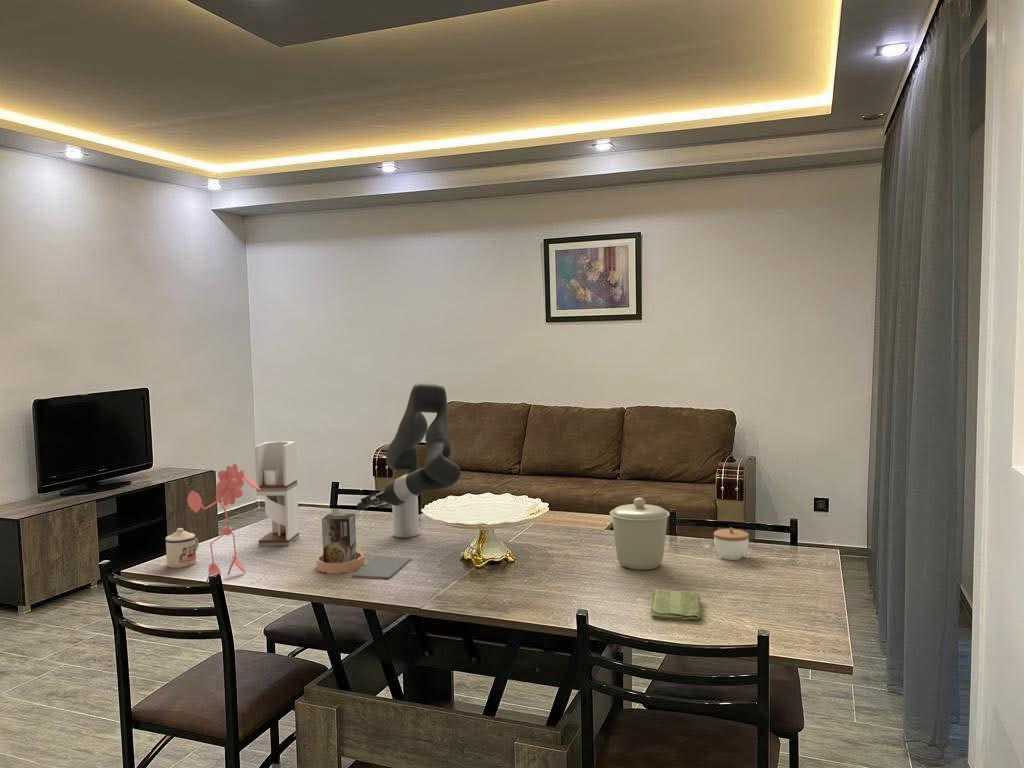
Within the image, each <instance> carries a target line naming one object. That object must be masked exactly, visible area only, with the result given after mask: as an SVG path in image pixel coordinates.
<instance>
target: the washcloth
mask: <svg viewBox="0 0 1024 768" xmlns="http://www.w3.org/2000/svg"><path fill="white" fill-rule="evenodd" d="M651 601H652V603H651V605H652V606H651V608H650V611H651V612H650V617H651V618H652V619H654V620H655V619H656V620H659V619H660V620H661V619H662V620H688V621H690V620H692V621H703V620H704V614H703V610H702V605H701V597H700V594H699V592H697V591H688V590H687V591H683V590H679V591H677V590H670V589H661V588H655V589H654V590H653V593H652V594H651Z"/></svg>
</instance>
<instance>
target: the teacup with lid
mask: <svg viewBox="0 0 1024 768" xmlns="http://www.w3.org/2000/svg"><path fill="white" fill-rule="evenodd" d="M164 542H165V550H166V551H165V553H166V566H167V567H168V568H171V569H180V568H188V567H191V566H193V565H194V564H196V562H197V555H196V553H197V550H198V549H199V539H198V538H197V537H196V535H195V533H193V532H188V531H186V530H184V528H183V527H179V528H176V531H175V532H173V533H172V534H170V535H167V536H165V539H164ZM187 566H188V567H187Z"/></svg>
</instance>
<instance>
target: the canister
mask: <svg viewBox="0 0 1024 768" xmlns="http://www.w3.org/2000/svg"><path fill="white" fill-rule="evenodd" d="M609 515H610V517H612V528H613V536H614V537H613V538H614V545H615V551H616V556H617V560H618V563H619V564H620V566H621V567H624V568H627V569H630V570H636V571H637V570H638V571H649V570H653V569H656V568H659V567H660V565H661V564H662V563H663V559H664V552H665V545H666V534H667V524H668V518H669V516H670V512H669V511H668V510H666V509H665V508H663V507H661V506H659V505H654V504H647V503H646V500H645V499H644V498H643V497H636V498H634V500H633V503H632V504H631V503H630V504H623V505H619V506H617V507H615V508H614V509H611V511H609Z"/></svg>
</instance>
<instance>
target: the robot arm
mask: <svg viewBox="0 0 1024 768" xmlns="http://www.w3.org/2000/svg"><path fill="white" fill-rule="evenodd" d="M409 394H410V395H409V399H408V402H407V404H406V408H405V411H404V413H403V416H402V418H401V420H400V423H399V425H398V428H397V431H396V434H395V435H394V438H393V440H392V441H391V443H390V444H389V445H388V448H387V450H386V456H385V459H386V460H385V461H386V464H387V467H388V468H389V469H390V470H394V471H400V470H401V471H403V470H406V471H405V472H404V474H402V475H400V476H399V477H395V478H394V479H393V480H391V481H389V482H388V483H387V484H386V486H385V487H384V488H385V489H384V490H381V491H379V492H378V493H376V492H373V493H372V494H369V495H367V496H365V497H362V498H361V499H360V502H358V503H357V505H356V506H357V507H356V508H357V509H358V511H362V510H365V509H367V508H368V509H369V507H375V508H376V507H378V509H380V510H381V509H383V508H385V507H387V506H392V533H393V537H395V538H401V539H402V538H403V539H405V538H412V537H413V538H414V537H416V536H419V533H420V527H419V524H420V523H419V500H418V499H419V497H418V496H420V495H422V494H425V493H427V492H428V491H434V490H435V491H436V490H441V489H443V490H444V489H447V488H451V487H452V486H454V485H455V484H456V483H457V482H458V481H459V480H460V478H461V474H462V473H461V468H460V466H459V465H458V464H457V463H455V462H454V461H451V459H448V458H450V456H451V454H452V446H451V442H450V437H449V431H448V397H447V391H446V388H445V387H444V386H443V385H442V384H438V383H427V382H419V383H415V384H414V385H413V386H412V388H411V390H410V393H409ZM423 413H429V414H430V413H432V414H436V416H435V418H433V421H431V423H430V425H429V426H428V421H427V418H426V417H425V415H424V414H423ZM424 438H425V439H424ZM423 439H424V440H425V446H426V452H427V453H426V456H425V461H424V467H420V468H419V466H418V465H419V451H418V448H417V446H418V445H419V444H420V443H421V442H422V441H423Z"/></svg>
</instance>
